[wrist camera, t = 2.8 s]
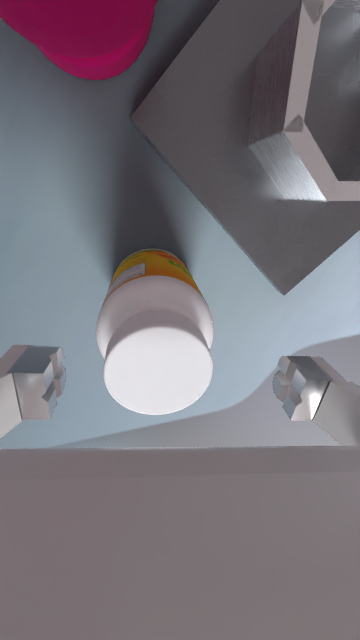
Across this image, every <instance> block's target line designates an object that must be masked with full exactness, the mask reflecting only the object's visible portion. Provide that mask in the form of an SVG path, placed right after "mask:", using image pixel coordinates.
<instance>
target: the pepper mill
mask: <svg viewBox="0 0 360 640" xmlns="http://www.w3.org/2000/svg"><path fill="white" fill-rule="evenodd" d="M156 3H157V0H0V17H1V18H2V19H3V20H4V21H5V22H6V23H7V24H8V25H9V26H10V27H11V28H13V29H14V30H15V31H16V32H18V33H19V34H21V35H22V36H23V37H25V38H26V39H28V40H29V41H30V42H32V43H34V44H36V46H37V47H38V48H39V49H40V50H41V52H42V53H43V54H44V55H45V56H46V57H47V58H48V59H49V60H50V61H52V62H53V63H54V64H55V65H57V66H58V67H59V68H61V69H62V70H64V71H66V72H68V73H69V74H72V75H74V76H77V77H79V78H85V79H90V80H104V79H108V78H111V77H114V76H117V75H119V74H120V73H122V72H123V71H125V70H126V69H128V68H129V67H130V66H131V65H132V64H133V63H134V61H135V60H136V59H137V58H138V56H139V55H140V53H141V51H142V50H143V48H144V46H145V45H146V42H147V39H148V36H149V34H150V30H151V26H152V22H153V17H154V9H155V5H156Z"/></svg>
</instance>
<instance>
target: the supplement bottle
mask: <svg viewBox="0 0 360 640" xmlns="http://www.w3.org/2000/svg"><path fill="white" fill-rule="evenodd" d="M213 333H214V326H213V319H212V316H211V313H210V310H209V308H208V305H207V303H206V301H205V299H204V298H203V296H202V294H201V292H200V291H199V289H198V287H197V285H196V284H195V282H194V280H193V278H192V276H191V274H190V272H189V271H188V269H187V267H186V266H185V264H184V263H183V262H182V261H181V260H180V259H179V258H178V257H176V256H175V255H173V254H172V253H170V252H167V251H165V250H161V249H143V250H140V251H137V252H135V253H133V254H131V255H129V256H128V257H127V258H125V259H124V260H123V261H122V262H121V263H120V265H119V266H118V268H117V270H116V272H115V274H114V276H113V278H112V281H111V284H110V286H109V289H108V292H107V295H106V297H105V300H104V303H103V305H102V308H101V310H100V313H99V317H98V321H97V328H96V336H97V343H98V346H99V349H100V352H101V354H102V356H103V358H104V359H105V361H104V368H103V375H104V381H105V384H106V387H107V389H108V391H109V392H110V394H111V395H112V397H113V398H114V399H115V400H116V401H117V402H119V403H120V404H121V405H122V406H124V407H126V408H128V409H130V410H132V411H135V412H138V413H142V414H149V415H161V414H168V413H173V412H176V411H179V410H181V409H183V408H185V407H187V406H189V405H191V404H192V403H193V402H195V401H196V400H197V399H198V398H200V396H201V395H202V394H203V393H204V392H205V390H206V389H207V387H208V385H209V383H210V380H211V377H212V372H213V361H212V357H211V353H210V347H211V344H212V340H213Z"/></svg>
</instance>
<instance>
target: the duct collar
mask: <svg viewBox="0 0 360 640" xmlns="http://www.w3.org/2000/svg"><path fill="white" fill-rule="evenodd" d="M130 119H131V123H132V124H133V125H134V126H135V127H136V128H137V130H138V131H139V132H140V133H141V134H142V135H143V136H144V138H145V139H146V140H147V141H148V142H149V143H150V144H151V146H152V147H153V148H154V149H155V150H156V151H157V153H158V154H159V155H160V156H161V157H162V158H163V159H164V161H165V162H166V163H167V164H168V165H169V166H170V167H171V169H172V170H173V171H174V172H175V173H176V174H177V176H178V177H179V178H180V179H181V180H182V181H183V182H184V184H185V185H186V186H187V187H188V188H189V189H190V191H191V192H192V193H193V194H194V195H195V196H196V197H197V199H198V200H199V201H200V202H201V203H202V204H203V205H204V207H205V208H206V209H207V210H208V211H209V212H210V214H211V215H212V216H213V217H214V218H215V219H216V220H217V222H218V223H219V224H220V225H221V226H222V227H223V228H224V230H225V231H226V232H227V233H228V234H229V235H230V237H231V238H232V239H233V240H234V241H235V242H236V243H237V245H238V246H239V247H240V248H241V249H242V250H243V251H244V253H245V254H246V255H247V256H248V257H249V258H250V260H251V261H252V262H253V263H254V264H255V265H256V266H257V268H258V269H259V270H260V271H261V272H262V273H263V274H264V276H265V277H266V278H267V279H268V280H269V281H270V283H271V284H272V285H273V286H274V287H275V288H276V289H277V291H279V292H280V293H281V294H283V295H285V294H287V293H288V292H289V291H290V290H291V289H292V288H293V287H295V286H296V285H297V284H298V283H299V282H300V281H301V280H303V279H304V278H305V277H306V276H307V275H308V274H309V273H311V272H312V271H313V270H314V269H315V268H316V267H318V266H319V265H320V264H321V263H322V262H323V261H324V260H326V259H327V258H328V257H329V256H330V255H331V254H332V253H334V252H335V251H336V250H337V249H338V248H339V247H340V246H342V245H343V244H344V243H345V242H346V241H347V240H349V239H350V238H351V237H352V236H353V235H354V234H355V233H357V232H358V231H359V230H360V0H219V2H218V3H217V4H216V6H215V7H214V8H213V9H212V11H211V12H210V13H209V15H208V16H207V17H206V19H205V20H204V21H203V23H202V24H201V25H200V26H199V28H198V29H197V30H196V32H195V33H194V34H193V36H192V37H191V38H190V40H189V41H188V42H187V43H186V45H185V46H184V47H183V49H182V50H181V51H180V53H179V54H178V55H177V57H176V58H175V59H174V61H173V62H172V63H171V64H170V66H169V67H168V68H167V70H166V71H165V72H164V74H163V75H162V76H161V78H160V79H159V80H158V81H157V83H156V84H155V85H154V87H153V88H152V89H151V91H150V92H149V93H148V95H147V96H146V97H145V99H144V100H143V101H142V102H141V104H140V105H139V106H138V108H137V109H136V110H135V112H134V113H133V114H132V116H131V117H130Z"/></svg>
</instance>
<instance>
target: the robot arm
mask: <svg viewBox="0 0 360 640" xmlns="http://www.w3.org/2000/svg"><path fill="white" fill-rule="evenodd" d="M64 358H65V357H64V350H63V348H62V347H53V346H36V345H13V346H12V347H11V348H10V349H9V350H8V351H7V352H6V353H5V354H4V355H3V357H2V358H1V359H0V438H1V437H3V436H4V435H5V434H6V433H8V432H9V431H10V430H11V429H13V428H14V427H15V426H16V425H18V424H19V423H20V422H21V421H22V420H36V419H50V418H51V416H52V414H53V412H54V410H55V408H56V406H57V397H59V396H60V395H62V392H63V390H64V387H65V382H66V368H65V367H64V366H63V365H62V364H61V363H62V362H63V360H64ZM278 367H279V369H280V370H279V371H278V372H277V373H275V375H274V378H273V390H274V393H275V395H276V397H277V398H278V399H279V400H281V401H282V402H284V403H283V408H284V410H285V412H286V413H287V415H288V417H289V418H290V420H296V421H313V423H314V424H316V425H317V426H318V427H319V428H321V429H322V430H323V431H324V432H325V433H327V434H328V435H329V436H330V437H332V438H333V439H334V440H336V441H337V442H338V443H339V444H340V445H342V446H263V447H262V446H259V447H168V448H167V447H163V448H50V449H0V640H360V386H359V385H357V384H355V383H353V382H347V381H346V380H345V379H344V378H343V377H342V376H341V375H340V374H339V373H338V372H337V371H336V370H335V369H334V368H333V367H332V366H330V364H328V363H327V362H326V361H325V360H324V359H323V358H321V357H319V356H282V357H281V358H280V359H279V362H278Z"/></svg>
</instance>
